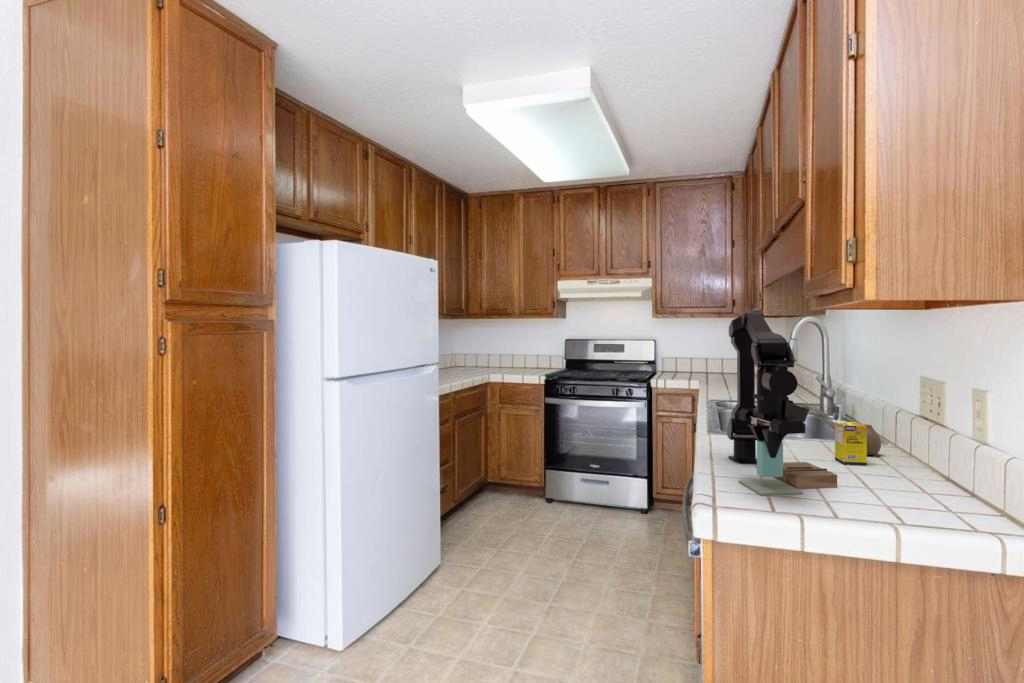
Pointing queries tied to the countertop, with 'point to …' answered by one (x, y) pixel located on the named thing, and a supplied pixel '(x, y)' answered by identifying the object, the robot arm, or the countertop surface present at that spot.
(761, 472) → the tall teal box
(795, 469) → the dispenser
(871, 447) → the vase
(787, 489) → the mat
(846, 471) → the countertop surface
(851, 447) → the supplement box
